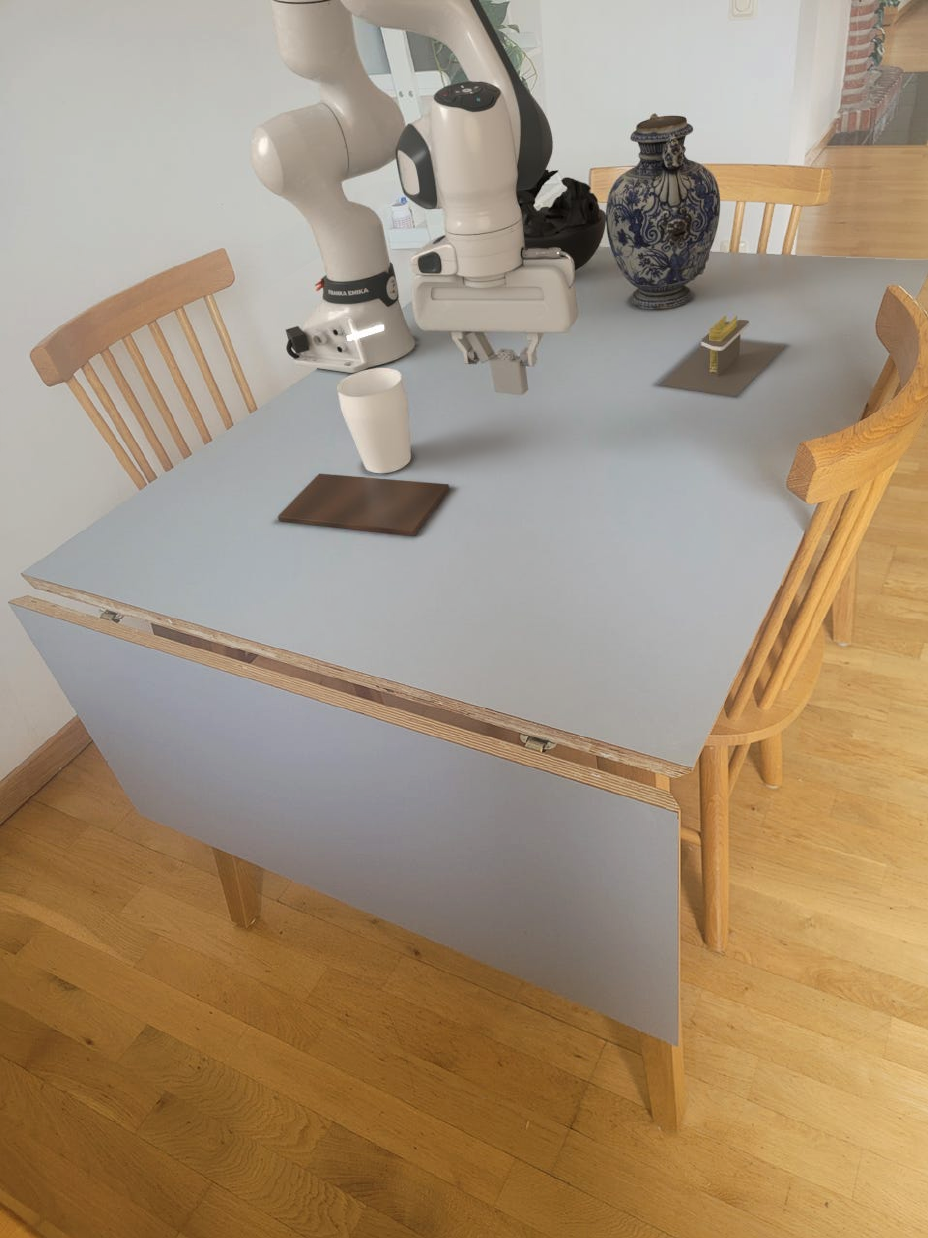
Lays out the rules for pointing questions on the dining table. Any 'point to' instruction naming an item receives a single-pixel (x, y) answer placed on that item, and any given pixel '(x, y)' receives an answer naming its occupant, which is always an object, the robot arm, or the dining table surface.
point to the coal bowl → (563, 220)
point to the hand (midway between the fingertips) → (500, 363)
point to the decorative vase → (662, 215)
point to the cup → (377, 417)
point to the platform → (723, 361)
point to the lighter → (500, 365)
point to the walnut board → (365, 504)
